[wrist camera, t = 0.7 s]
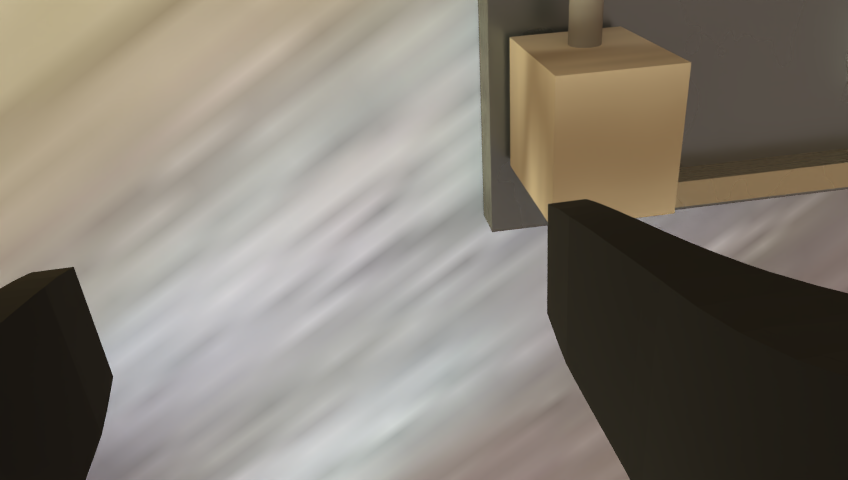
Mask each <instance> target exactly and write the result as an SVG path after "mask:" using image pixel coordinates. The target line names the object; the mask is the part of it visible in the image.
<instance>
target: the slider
mask: <svg viewBox="0 0 848 480" xmlns="http://www.w3.org/2000/svg"><path fill="white" fill-rule="evenodd" d="M603 8H604V0H569V27H568V31H567V32H557V33H546V34H536V35H525V36H515V37H510V166H511V167H512V169H513V170H514V172H515V173H516V175H517V176H518V178H519V179H520V181H521V182H522V184H523V185H524V187H525V188H526V190H527V191H528V193H529V194H530V196H531V197H532V199H533V200H534V202H535V203H536V205H537V206H538V208H539V209H540V211H541V212H542V214H543V215H544V217H545V218H546V220H547V221H548V204H551V203H559V202H566V201H574V200H581V199H588V200H591V201H595V202H597V203H600V204H603V205H605V206H608V207H610V208H613V209H615V210H617V211H620V212H622V213H624V214H626V215H629V216H631V217H633V218H640V217H648V216H656V215H664V214H673V213H675V204H676V195H677V186H678V177H679V168H680V159H681V150H682V141H683V133H684V124H685V115H686V106H687V97H688V88H689V79H690V70H691V62H689V61H687V60H686V59H684V58H682V57H680V56H678V55H676V54H674V53H672V52H670V51H668V50H666V49H664V48H662V47H660V46H658V45H656V44H654V43H652V42H650V41H648V40H646V39H644V38H642V37H640V36H639V35H637V34H635V33H633V32H631V31H629V30H627V29H625V28H623V27H621V26H619V27H609V28H602V27H603Z"/></svg>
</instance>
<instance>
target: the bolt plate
mask: <svg viewBox="0 0 848 480" xmlns="http://www.w3.org/2000/svg"><path fill="white" fill-rule="evenodd" d="M478 14H479V52H480V89H481V127H482V165H483V202H484V216H485V218H486V220H487V222H488V224H489V226H490V228H491V230H492V232H496V231H504V230H512V229H521V228H529V227H537V226H545V225H548V221H547V220H546V218H545V217H544V215H543V214H542V212H541V211H540V209H539V208H538V206H537V205H536V203H535V202H534V200H533V199H532V197H531V196H530V194H529V193H528V191H527V190H526V188H525V187H524V185H523V184H522V182H521V181H520V179H519V178H518V176H517V175H516V173H515V172H514V170H513V169H512V167H511V166H510V37H515V36H525V35H536V34H546V33H557V32H567V31H568V27H569V0H478ZM619 26H621V27H623V28H625V29H627V30H629V31H631V32H633V33H635V34H637V35H639V36H640V37H642V38H644V39H646V40H648V41H650V42H652V43H654V44H656V45H658V46H660V47H662V48H664V49H666V50H668V51H670V52H672V53H674V54H676V55H678V56H680V57H682V58H684V59H686V60H687V61H689V62H691V70H690V79H689V88H688V97H687V106H686V115H685V124H684V133H683V141H682V150H681V159H680V168H679V177H678V186H677V195H676V204H675V210H678V209H686V208H694V207H702V206H711V205H719V204H727V203H735V202H744V201H752V200H760V199H768V198H777V197H785V196H793V195H801V194H810V193H818V192H826V191H834V190H843V189H848V0H604V8H603V27H602V28H609V27H619Z"/></svg>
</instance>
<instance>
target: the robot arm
mask: <svg viewBox="0 0 848 480" xmlns="http://www.w3.org/2000/svg"><path fill="white" fill-rule="evenodd" d="M547 314H548V316H549V319H550V322H551V325H552V327H553V330H554V333H555V336H556V339H557V341H558V344H559V346H560V349H561V351H562V354H563V357H564V359H565V362H566V364H567V366H568V368H569V370H570V372H571V373H572V375H573V377H574V379H575V381H576V383H577V384H578V386H579V388H580V390H581V392H582V394H583V395H584V397H585V399H586V401H587V403H588V404H589V406H590V408H591V410H592V412H593V413H594V415H595V417H596V419H597V421H598V422H599V424H600V426H601V428H602V429H603V431H604V433H605V435H606V437H607V438H608V440H609V442H610V444H611V446H612V447H613V449H614V451H615V453H616V455H617V456H618V458H619V460H620V462H621V464H622V465H623V467H624V469H625V471H626V472H627V474H628V476H629V478H630V480H848V293H844V292H840V291H836V290H832V289H828V288H824V287H820V286H816V285H813V284H809V283H806V282H803V281H799V280H796V279H792V278H789V277H785V276H782V275H778V274H775V273H771V272H768V271H765V270H762V269H759V268H756V267H753V266H750V265H747V264H744V263H742V262H739V261H736V260H734V259H731V258H728V257H726V256H723V255H720V254H718V253H715V252H712V251H710V250H707V249H705V248H702V247H700V246H697V245H695V244H692V243H690V242H688V241H685V240H683V239H680V238H678V237H676V236H673V235H671V234H669V233H667V232H664V231H662V230H660V229H658V228H655V227H653V226H651V225H649V224H646V223H644V222H642V221H640V220H637V219H635V218H633V217H631V216H629V215H626V214H624V213H622V212H620V211H617V210H615V209H613V208H610V207H608V206H605V205H603V204H600V203H597V202H595V201H591V200H588V199H581V200H574V201H566V202H559V203H551V204H548V287H547ZM112 380H113V375H112V372H111V370H110V367H109V364H108V361H107V358H106V356H105V353H104V350H103V347H102V345H101V342H100V339H99V336H98V333H97V331H96V328H95V325H94V322H93V319H92V317H91V314H90V311H89V308H88V305H87V303H86V300H85V297H84V294H83V292H82V289H81V286H80V283H79V280H78V278H77V275H76V272H75V269H74V267H70V268H62V269H55V270H47V271H40V272H32V273H29V274H27V275H25V276H23V277H21V278H18V279H17V280H15V281H13V282H11V283H9V284H7V285H6V286H4V287H2V288H1V289H0V480H86V477H87V474H88V471H89V469H90V466H91V463H92V460H93V458H94V455H95V452H96V449H97V446H98V444H99V441H100V438H101V435H102V431H103V426H104V422H105V417H106V412H107V408H108V402H109V397H110V391H111V386H112Z"/></svg>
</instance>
